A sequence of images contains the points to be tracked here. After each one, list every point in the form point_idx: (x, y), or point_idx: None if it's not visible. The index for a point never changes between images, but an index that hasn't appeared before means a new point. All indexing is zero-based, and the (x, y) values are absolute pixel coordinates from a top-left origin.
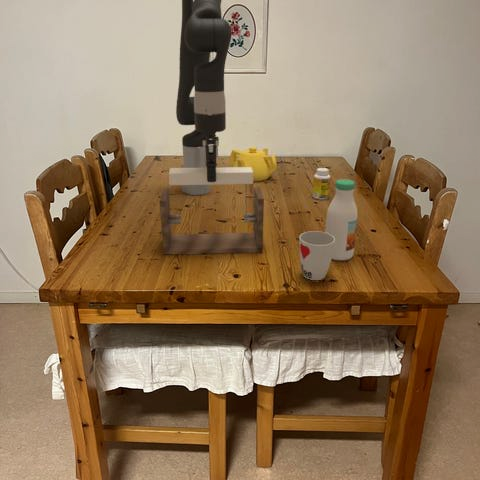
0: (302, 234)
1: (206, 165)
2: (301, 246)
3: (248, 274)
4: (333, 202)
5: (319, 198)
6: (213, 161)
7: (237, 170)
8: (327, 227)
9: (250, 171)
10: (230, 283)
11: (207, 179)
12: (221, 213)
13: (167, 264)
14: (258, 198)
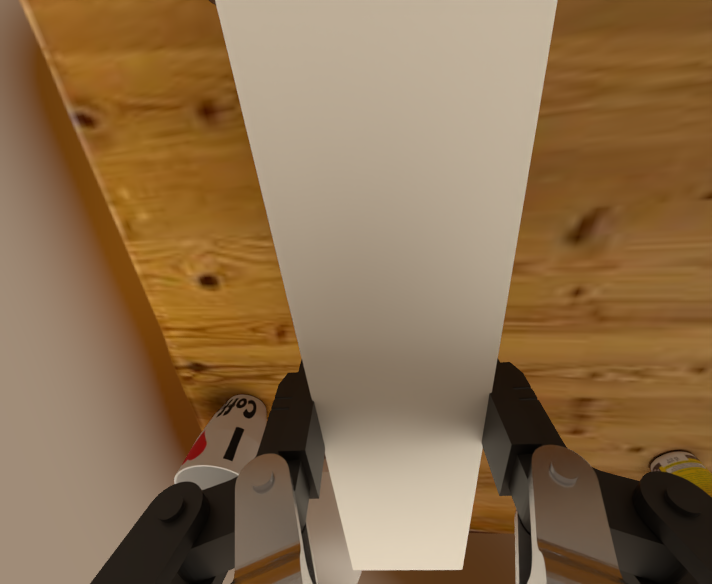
0: (230, 469)
1: (151, 506)
2: (197, 452)
3: (223, 306)
4: (319, 572)
5: (656, 461)
6: (510, 485)
7: (391, 529)
8: (323, 494)
9: (370, 564)
10: (168, 270)
11: (300, 366)
12: (664, 222)
13: (224, 67)
14: (326, 460)
